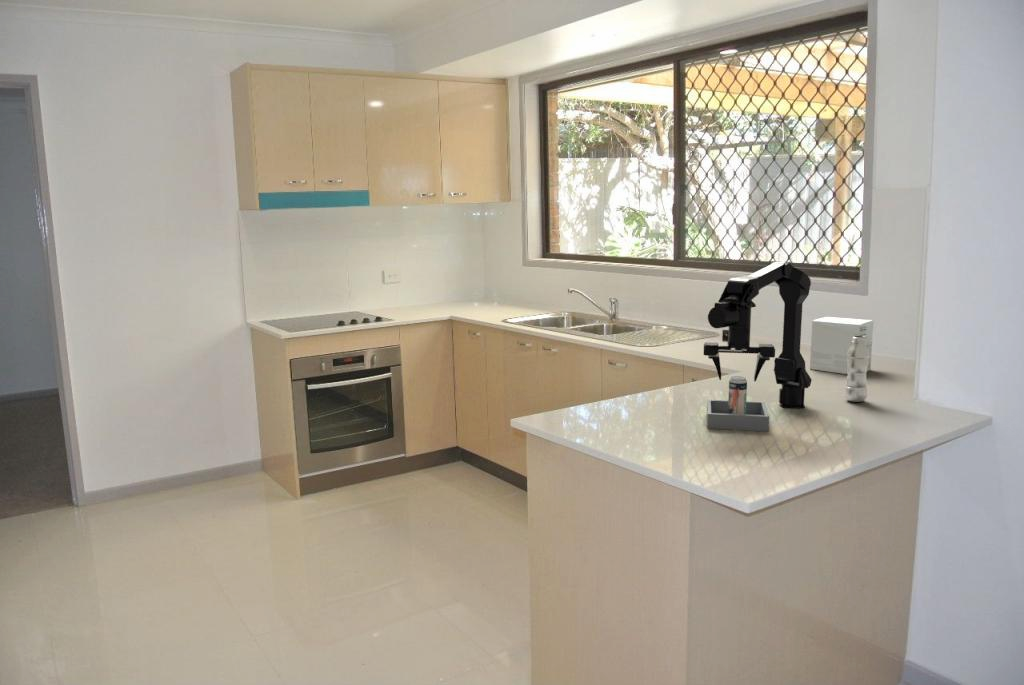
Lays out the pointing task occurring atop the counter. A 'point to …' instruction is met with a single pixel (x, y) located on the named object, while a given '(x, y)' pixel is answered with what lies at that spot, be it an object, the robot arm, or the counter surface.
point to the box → (737, 416)
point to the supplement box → (837, 342)
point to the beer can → (737, 395)
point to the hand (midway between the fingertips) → (737, 380)
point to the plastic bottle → (857, 370)
